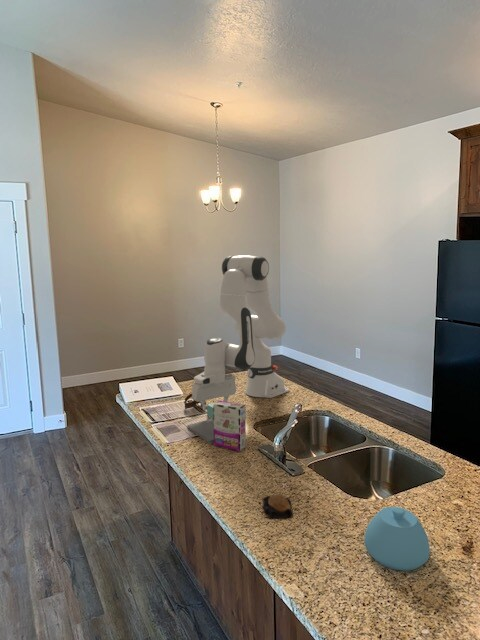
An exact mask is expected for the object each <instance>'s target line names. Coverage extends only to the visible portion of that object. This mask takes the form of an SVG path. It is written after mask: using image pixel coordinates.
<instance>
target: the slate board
mask: <svg viewBox="0 0 480 640" xmlns="http://www.w3.org/2000/svg"><path fill="white" fill-rule="evenodd" d="M187 429H189V431H191V432H192V433H194V434H195V435H196V436H198V437H200V438H201V439H203V440H204V441H205V442H206V443H208V444H209V445H211V444H214V419H212V418H211V419H207V420H202V421H198V422H195V423H190V424H187Z"/></svg>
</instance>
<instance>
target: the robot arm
mask: <svg viewBox="0 0 480 640" xmlns="http://www.w3.org/2000/svg"><path fill="white" fill-rule="evenodd" d="M269 270H270V264H269V262H268V260H267V259H266V257H263V256H259V255H257V256H255V255H247V254H246V255H228V256H226V257H225V258H224V259H223V261H222V263H221V272H222V274H223V277H222V280H221V281H222V282H221V286H220V294H219V295H220V296H219V306H220V309H221V310H222V312H223V313H224V314H225V315H227V316H228V317H230V318H231V319H233V320H234V321H235V323H234V327H235V331H236V333H237V334H238V335H239V344H234V343H231V342H230V343H229V342H227V341H225V340H224V338H221V337H213V338H209V339H208V340H206V341H205V344H204V350H203V351H204V353H203V354H204V356H203V357H204V359H203V360H204V368H203V370H204V371H202V372H200V373H199V374H198V375H195V376H193V382H194V383H193V384H192V387H191V388H192V389H191V393H192V397H191V399H192V398H193V399H192V401H193V400H195V401H197V402H199V401H200V402H201V403H200V405H201V404H202V405H203V406H202V410H203V411H207V409H208V408H207V407H208V406H207V404H206V405H205V402H206V401H207V400H208V401H209V400H214V399H218V398H223V400H222V401H226V402H228V400H229V398H230V396H232V395H235V394H236V393H237V387H236V385H237V384H236V376H235V374H233V373H228V374H226V367H225V366H229V367H233V368H237V369H239V370H242V371H246V370H247V382H246V383H247V384H246V388H245V392H244V394H245V395H246V396H247V395H248V396H250V397H254V398H266V399H267V398H268V399H272V398H274V397H277V396H280V395H282V394H286V393H288V392H290V389H289V388H288V387H287V386H286V385H285V381H284V379H283V377H281V376H280V375H279V374H278V373H276V372H275V371H277V370H278V368H279V366H277V365H275V364H274V365H272V351H271V348H270V347H269V346H268V345H266V344H265V342H263V340H262V339H267V340H274V339H275V340H277V339H281V338H282V337H283V336H284V335H285V333H286V331H287V330H286V327H287V326H286V323H285V321H284V320H283V319H282V317H280V316H279V315H278V314H277V313H276V312H275V310H274V308H273V307H272V304H271V300H270V295H269V292H270V291H269V283H268V277H267V276H268V275H269V272H270V271H269ZM250 310H251V311H252V312H254V313H255V314H252V313H251V311H250ZM274 370H275V371H274Z"/></svg>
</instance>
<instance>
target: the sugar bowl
mask: <svg viewBox="0 0 480 640" xmlns="http://www.w3.org/2000/svg"><path fill="white" fill-rule="evenodd" d="M363 542H364V546H365V549H366V551H367V552H368V553H369V555H370V556H371V557H372V558H373V559H374V560H375V561H377V562H378V563H379V564H380V565H382V566H384V567H386V568H388V569H392V570H394V571H400V572H401V571H403V572H405V571H407V572H408V571H413V570H416V569H418V568H421V567H422V566H423V565H424V564H426V563H427V561H428V560H429V558H430V554H431V553H430V552H431V551H430V550H431V549H430V547H431V546H430V542H429V537H428V535H427V533H426V531H425V529H424V527H423V524H422V523H421V521H420V520H419V518H418V517H417V515H415V514H414V513H413V512H411V511H410V510H408V509H405V508H402V507H400V506H387V507H384V508H382V509H380V510H378V512H377V513H376V514H375V515H374V516H373V517H372V519H371V520H370V521H369V523H368V525H367V527H366V530H365V532H364V540H363Z"/></svg>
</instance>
